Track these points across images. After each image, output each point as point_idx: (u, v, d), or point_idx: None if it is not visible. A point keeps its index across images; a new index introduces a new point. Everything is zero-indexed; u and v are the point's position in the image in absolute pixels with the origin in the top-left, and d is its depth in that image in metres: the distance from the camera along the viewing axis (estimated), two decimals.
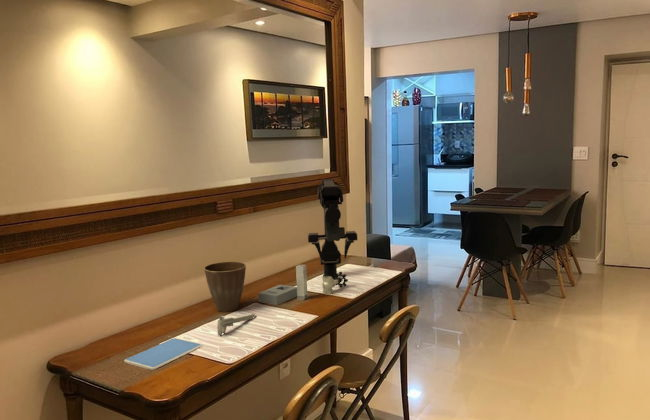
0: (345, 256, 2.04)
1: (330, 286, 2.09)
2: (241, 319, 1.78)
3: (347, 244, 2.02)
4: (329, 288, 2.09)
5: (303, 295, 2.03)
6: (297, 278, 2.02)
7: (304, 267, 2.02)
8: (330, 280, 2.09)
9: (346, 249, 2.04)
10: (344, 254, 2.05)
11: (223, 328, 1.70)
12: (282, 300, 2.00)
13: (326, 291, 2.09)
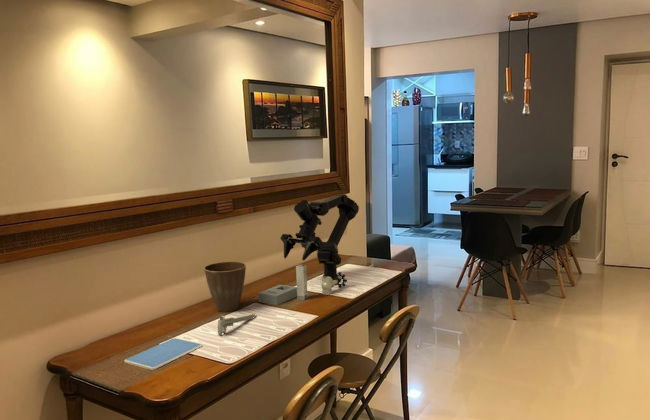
0: None
1: (329, 286, 2.08)
2: (241, 319, 1.78)
3: None
4: (328, 288, 2.08)
5: (303, 295, 2.03)
6: (297, 278, 2.02)
7: (304, 267, 2.02)
8: (329, 280, 2.08)
9: None
10: (286, 254, 2.15)
11: (223, 328, 1.70)
12: (282, 300, 2.00)
13: (325, 291, 2.09)
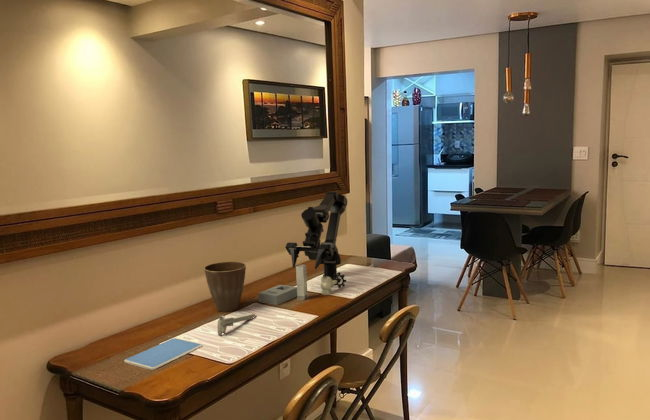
0: None
1: (329, 287, 2.08)
2: (241, 319, 1.78)
3: None
4: (328, 289, 2.08)
5: (303, 295, 2.03)
6: (297, 278, 2.02)
7: (304, 267, 2.02)
8: (329, 281, 2.08)
9: None
10: (294, 263, 2.08)
11: (223, 328, 1.70)
12: (282, 300, 2.00)
13: (325, 292, 2.08)
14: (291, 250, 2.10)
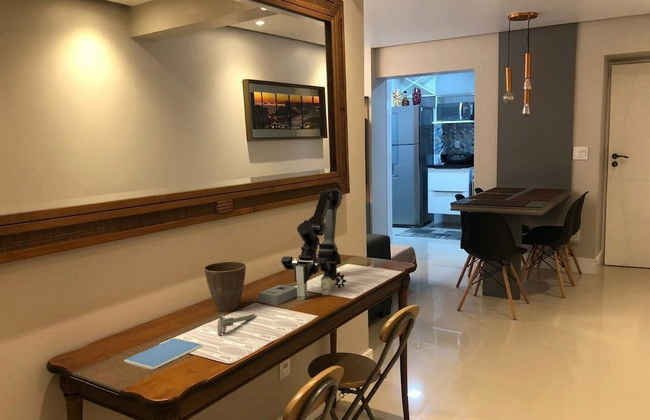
0: None
1: (328, 287, 2.08)
2: (241, 319, 1.78)
3: None
4: (327, 289, 2.08)
5: (303, 295, 2.03)
6: (297, 278, 2.02)
7: (304, 267, 2.02)
8: (328, 281, 2.08)
9: None
10: None
11: (223, 328, 1.70)
12: (282, 300, 2.00)
13: (324, 292, 2.08)
14: (294, 265, 2.05)
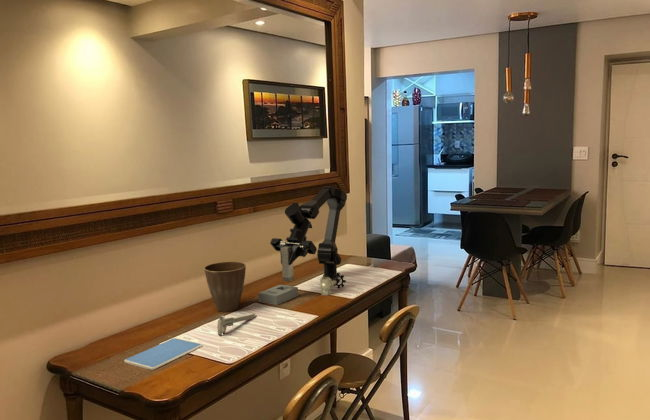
0: None
1: (328, 287, 2.07)
2: (241, 319, 1.78)
3: None
4: (327, 289, 2.07)
5: (288, 277, 2.04)
6: (282, 259, 2.04)
7: (289, 249, 2.03)
8: (328, 281, 2.08)
9: None
10: None
11: (223, 328, 1.70)
12: (282, 300, 2.00)
13: (324, 292, 2.08)
14: (280, 246, 2.07)
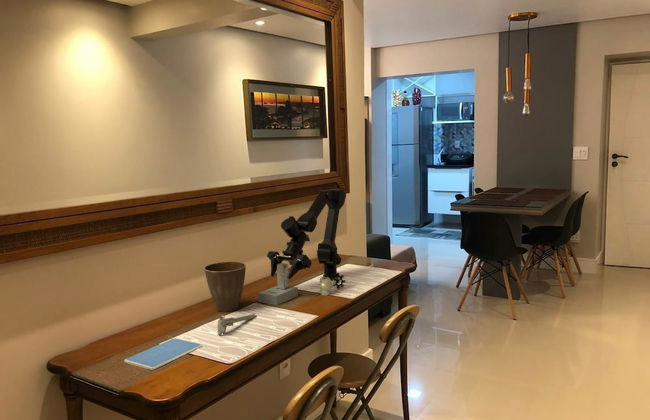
0: None
1: (327, 287, 2.07)
2: (241, 319, 1.78)
3: None
4: (326, 289, 2.07)
5: None
6: (278, 276, 2.06)
7: (285, 266, 2.05)
8: (327, 281, 2.07)
9: None
10: (273, 273, 2.09)
11: (223, 328, 1.70)
12: (282, 300, 2.00)
13: (323, 292, 2.07)
14: (271, 259, 2.10)
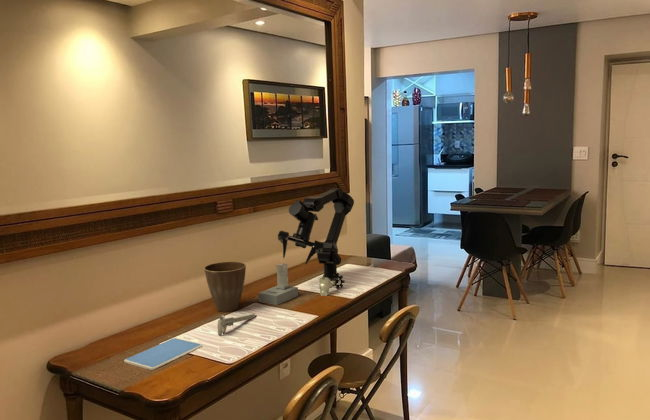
0: (283, 256, 2.13)
1: (327, 287, 2.07)
2: (241, 319, 1.78)
3: None
4: (326, 289, 2.07)
5: None
6: (277, 276, 2.06)
7: (284, 266, 2.05)
8: (327, 281, 2.07)
9: None
10: None
11: (223, 328, 1.70)
12: (282, 300, 2.00)
13: (323, 292, 2.07)
14: (284, 241, 2.12)
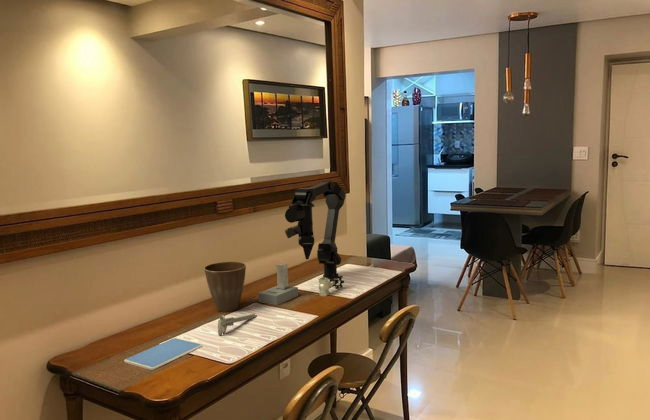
0: (305, 257, 2.13)
1: (326, 288, 2.06)
2: (241, 319, 1.78)
3: (301, 245, 2.12)
4: (325, 290, 2.06)
5: None
6: (277, 276, 2.06)
7: (284, 266, 2.05)
8: (326, 282, 2.07)
9: (304, 251, 2.12)
10: None
11: (223, 328, 1.70)
12: (282, 300, 2.00)
13: (322, 293, 2.07)
14: None
